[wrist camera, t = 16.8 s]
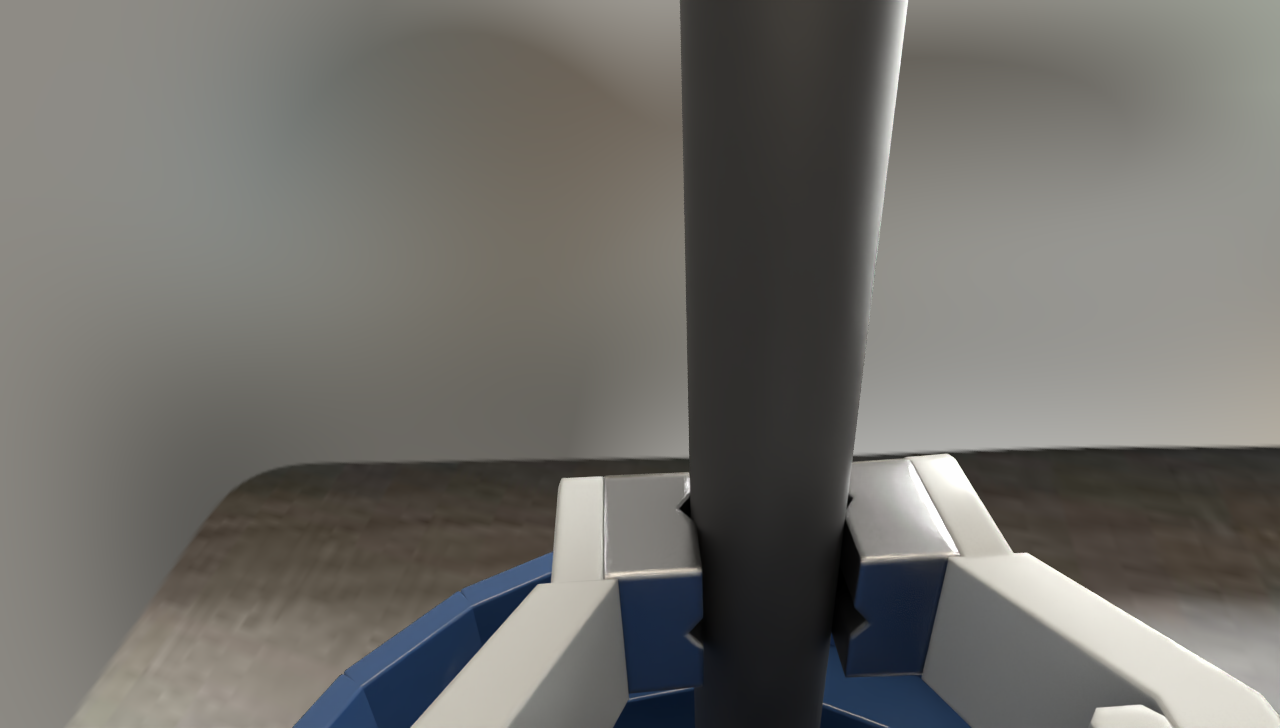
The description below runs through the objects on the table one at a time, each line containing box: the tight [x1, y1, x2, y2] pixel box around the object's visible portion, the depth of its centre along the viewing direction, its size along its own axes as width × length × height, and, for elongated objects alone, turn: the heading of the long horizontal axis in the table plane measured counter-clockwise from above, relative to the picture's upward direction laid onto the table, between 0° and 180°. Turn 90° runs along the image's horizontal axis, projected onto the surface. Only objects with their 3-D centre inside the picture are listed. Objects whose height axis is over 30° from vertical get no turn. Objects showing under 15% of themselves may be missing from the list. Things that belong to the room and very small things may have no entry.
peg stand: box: [680, 0, 908, 728], centre depth 9 cm, size 6×6×18 cm
